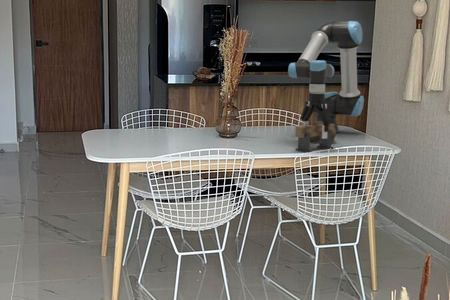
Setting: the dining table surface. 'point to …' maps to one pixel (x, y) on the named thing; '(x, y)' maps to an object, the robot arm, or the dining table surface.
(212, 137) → the dining table surface
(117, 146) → the dining table surface
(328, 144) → the standards
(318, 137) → the decorative stone
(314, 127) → the rail
